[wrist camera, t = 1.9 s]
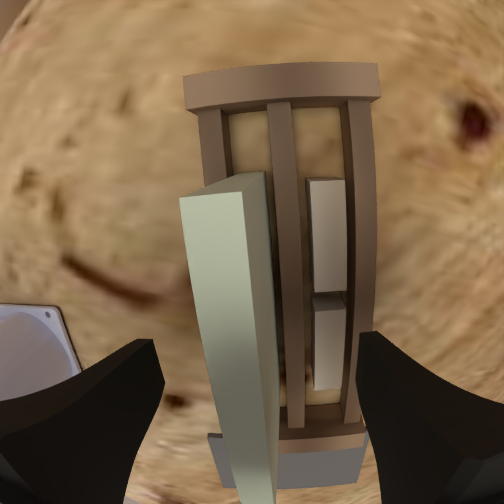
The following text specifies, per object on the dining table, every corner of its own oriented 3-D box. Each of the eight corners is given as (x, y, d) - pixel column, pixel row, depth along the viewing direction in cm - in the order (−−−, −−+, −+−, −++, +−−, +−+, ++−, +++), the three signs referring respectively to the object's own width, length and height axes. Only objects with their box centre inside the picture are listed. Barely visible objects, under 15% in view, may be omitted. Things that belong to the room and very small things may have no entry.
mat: (224, 484, 23) (223, 487, 23) (208, 433, 21) (207, 437, 20) (355, 479, 22) (356, 482, 21) (369, 426, 20) (370, 430, 19)
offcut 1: (309, 273, 17) (314, 292, 14) (304, 177, 15) (309, 181, 13) (337, 271, 17) (346, 290, 14) (334, 176, 15) (344, 179, 13)
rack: (242, 422, 20) (237, 453, 17) (200, 90, 14) (182, 76, 11) (355, 415, 19) (362, 446, 16) (359, 79, 13) (376, 63, 11)
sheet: (261, 374, 19) (244, 515, 9) (241, 172, 15) (178, 197, 6) (280, 373, 19) (274, 516, 9) (265, 170, 15) (241, 191, 6)
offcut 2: (310, 364, 18) (314, 390, 16) (310, 290, 17) (315, 311, 15) (335, 362, 18) (341, 388, 16) (337, 288, 17) (346, 309, 14)
